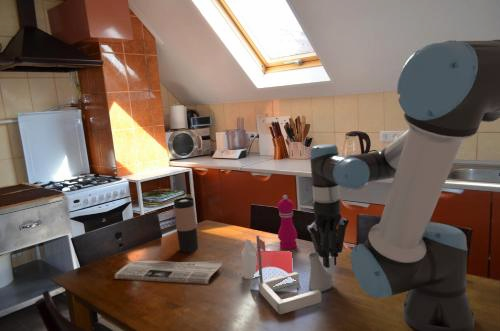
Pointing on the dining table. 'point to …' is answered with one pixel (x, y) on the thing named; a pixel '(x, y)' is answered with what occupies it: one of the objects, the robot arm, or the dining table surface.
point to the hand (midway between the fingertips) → (330, 276)
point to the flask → (318, 274)
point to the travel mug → (186, 224)
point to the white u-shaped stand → (272, 297)
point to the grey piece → (249, 259)
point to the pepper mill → (286, 224)
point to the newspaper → (169, 271)
